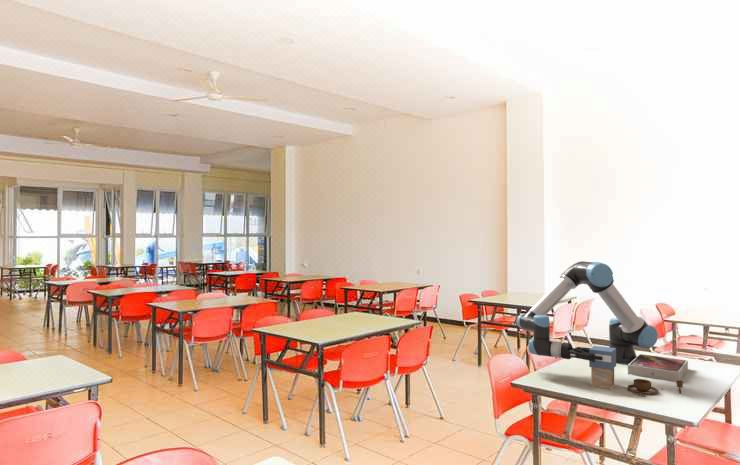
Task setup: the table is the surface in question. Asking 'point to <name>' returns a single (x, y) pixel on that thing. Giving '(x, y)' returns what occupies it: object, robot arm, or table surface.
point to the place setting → (648, 387)
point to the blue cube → (603, 351)
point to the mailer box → (602, 377)
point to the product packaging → (658, 367)
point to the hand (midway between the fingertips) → (613, 356)
